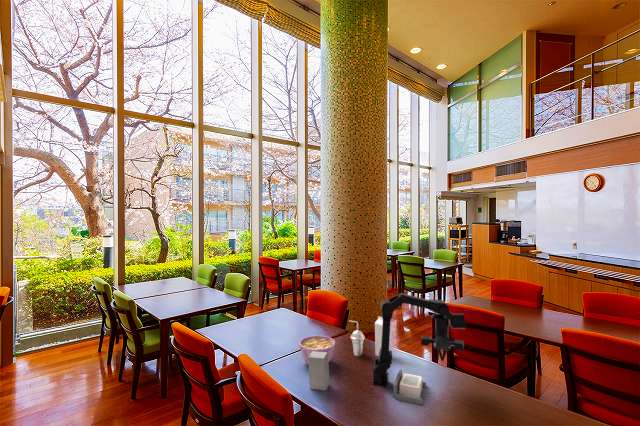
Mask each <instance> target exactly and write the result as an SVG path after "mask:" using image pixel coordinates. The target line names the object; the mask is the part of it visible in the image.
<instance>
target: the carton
mask: <svg viewBox="0 0 640 426" xmlns="http://www.w3.org/2000/svg"><path fill="white" fill-rule="evenodd" d="M422 381H423V376H421V375H416V374H415V375H414V374H410V373H402V379H401V382H400V390H399V394H402V395H407V396H412V397H417V398H420V397H421V393H422V389H423V387H422Z"/></svg>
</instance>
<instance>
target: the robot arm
mask: <svg viewBox="0 0 640 426" xmlns="http://www.w3.org/2000/svg"><path fill="white" fill-rule="evenodd" d="M403 304H407V305H411V306H414V307H419V308H421V309H422V308H423V309H427V310H429V311H431V312H433V314H431V315H430V317H431V319H432V320H435V323H434V324H435V325H434V326H435V327H434V328H435V337H434V338H432V337H431V336H430V335H422V336H421V339H420V345H422V346H427V347H428V346H430V345H431V344H433V348H434V349H436V350H437V351H436V352H438V354H439V355H438V356H439V358H440V360H441V362H444V360H445V358H446V354H447V353H448V351H451V348H452V347H454V349H455V350H456V351H460V352H461V351H463V352H464V351H465V350H464V349H465V343H464V340H461V339H454V341H452V339H451V338H449V327H451V329H453V330H454V329H456V330H457V329H458V330H459V329H461V330H466V329H467V322H466V318H465V314H464V313H452V312H451V310H450V307H449V305H448V304H447V302H446V301H444V300H443V299H426V298H421V297H419V296H415V295H410V294H406V293H403V292H400V293H398V294H397V295H394V296H392V297H390V298H388V299H384V300H382V301H381V303H380V308H381V315H382V316H381V317H382V318H383V323H382V341H381V348H380V351H379V356H377V358H376V359H375V360H374V361H373V367H374V368H373V371H372V372H373V373H372V374H373V375H372V378H373V381H372V385H375V386H381V387H387V385H388V384H389V379H390V377H389V375H390V374H389V372H388V370H389V369H390V368H391V366H392V365H393V361H392V360H393V350H390V351H389V339H390V338H391V334H390V333H391V321H392V318H393V315H394V312H395V310H397V309H398V308H399V307H400V306H402V305H403ZM390 340H391V339H390Z"/></svg>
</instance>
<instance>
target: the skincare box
mask: <svg viewBox="0 0 640 426" xmlns="http://www.w3.org/2000/svg"><path fill="white" fill-rule="evenodd" d="M307 364H308V377H309V388H310V389H311V390H320V391H324V392H325V391H327V389H328V387H329V385H330V368H329V362H328V353H327V352H316V351H312V353H311V354H310V355H309V356H308V363H307Z"/></svg>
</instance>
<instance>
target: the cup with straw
mask: <svg viewBox="0 0 640 426" xmlns="http://www.w3.org/2000/svg"><path fill="white" fill-rule="evenodd" d="M348 322H351V323H356V330H354V331H353V332H352V333H351V335H350V337H349V338H350V339H351V342H352V349H353V350H352V351H353V355H354V356H356V357H361V356H363V355H362V354H363V345H364V340H365V339H366V337H365V335H364V334H363V332H362V331H361V330H359V322H358V321H356V320H350V319H348Z"/></svg>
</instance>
